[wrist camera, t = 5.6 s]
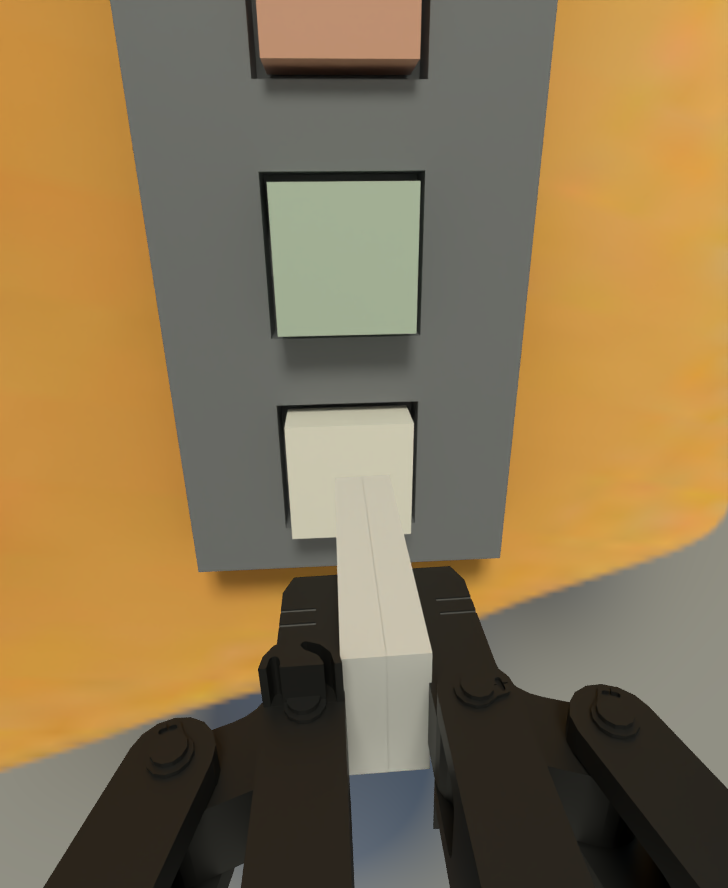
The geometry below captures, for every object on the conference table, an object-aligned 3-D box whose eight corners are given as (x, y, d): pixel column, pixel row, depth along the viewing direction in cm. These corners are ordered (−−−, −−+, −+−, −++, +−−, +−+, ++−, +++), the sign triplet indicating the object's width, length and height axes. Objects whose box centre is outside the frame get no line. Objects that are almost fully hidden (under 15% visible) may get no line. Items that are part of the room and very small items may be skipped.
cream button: (295, 512, 25) (292, 539, 23) (288, 409, 23) (284, 427, 21) (404, 508, 25) (410, 533, 23) (406, 405, 23) (413, 423, 21)
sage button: (282, 325, 22) (278, 336, 20) (272, 185, 20) (266, 181, 18) (407, 322, 22) (416, 333, 20) (410, 184, 20) (420, 180, 18)
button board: (209, 541, 27) (198, 571, 25) (102, -209, 17) (67, -275, 14) (485, 529, 28) (499, 557, 26) (550, -194, 17) (584, -256, 15)
